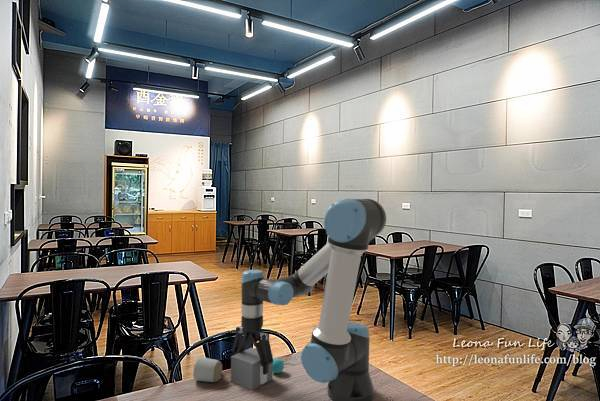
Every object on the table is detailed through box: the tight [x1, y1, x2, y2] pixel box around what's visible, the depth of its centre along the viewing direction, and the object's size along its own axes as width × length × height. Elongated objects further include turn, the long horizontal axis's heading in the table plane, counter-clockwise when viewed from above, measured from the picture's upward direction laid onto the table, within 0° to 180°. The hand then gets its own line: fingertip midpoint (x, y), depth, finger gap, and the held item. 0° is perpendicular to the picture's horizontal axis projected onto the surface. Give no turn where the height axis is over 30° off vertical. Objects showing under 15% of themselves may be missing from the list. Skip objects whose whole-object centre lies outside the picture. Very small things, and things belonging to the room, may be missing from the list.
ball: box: [273, 358, 285, 374], centre depth 145 cm, size 5×5×5 cm
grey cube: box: [230, 347, 274, 391], centre depth 139 cm, size 10×10×9 cm
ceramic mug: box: [192, 356, 223, 383], centre depth 140 cm, size 11×8×8 cm
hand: (251, 378), depth 139 cm, fingers closed on grey cube, 10 cm apart
